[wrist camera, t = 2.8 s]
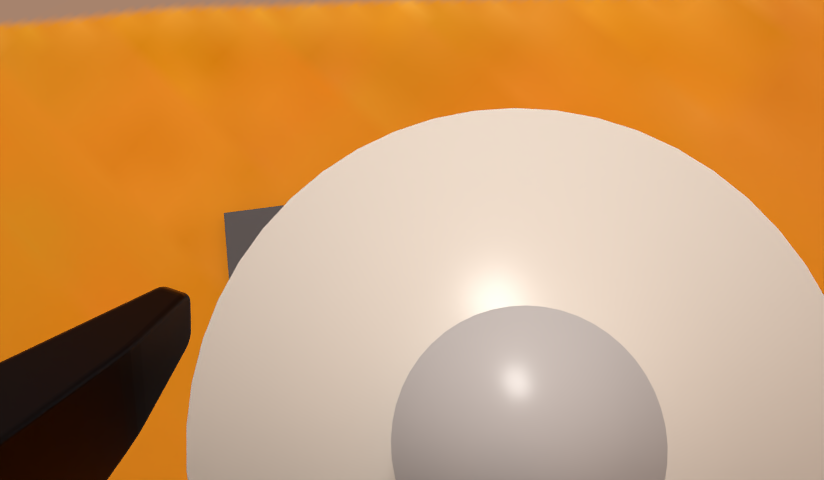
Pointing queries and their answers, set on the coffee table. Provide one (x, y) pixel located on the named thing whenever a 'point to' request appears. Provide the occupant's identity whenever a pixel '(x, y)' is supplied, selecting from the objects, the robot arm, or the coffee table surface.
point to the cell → (514, 318)
